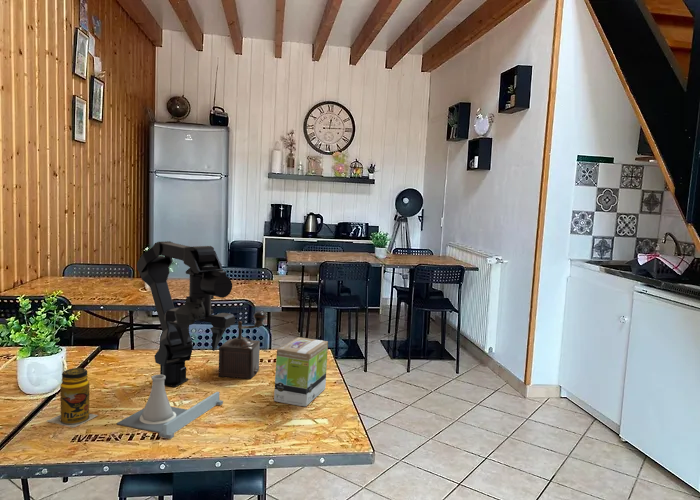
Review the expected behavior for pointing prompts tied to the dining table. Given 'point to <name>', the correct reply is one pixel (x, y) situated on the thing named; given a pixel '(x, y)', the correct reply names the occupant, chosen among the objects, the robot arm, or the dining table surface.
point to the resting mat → (140, 423)
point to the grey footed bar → (190, 415)
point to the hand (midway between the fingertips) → (199, 348)
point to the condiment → (74, 398)
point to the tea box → (300, 371)
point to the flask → (157, 401)
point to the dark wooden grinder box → (240, 354)
